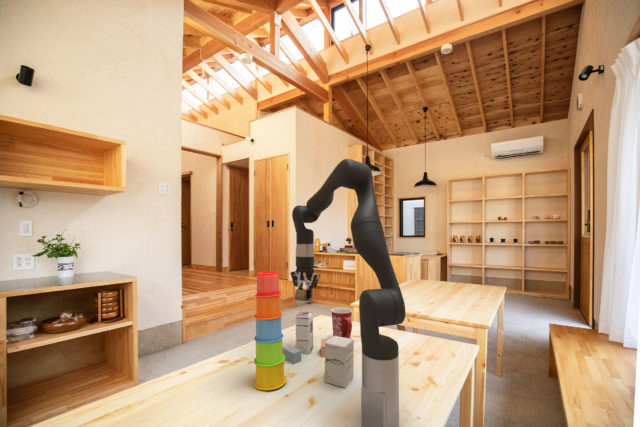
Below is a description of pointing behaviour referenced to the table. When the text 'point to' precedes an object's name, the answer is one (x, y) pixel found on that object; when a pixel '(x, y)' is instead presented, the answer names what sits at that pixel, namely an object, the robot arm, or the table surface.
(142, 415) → the table surface
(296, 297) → the walnut brick
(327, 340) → the terracotta brick
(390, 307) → the robot arm
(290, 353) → the slate-blue brick
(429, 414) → the table surface
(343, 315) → the mug
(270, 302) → the stacking cups
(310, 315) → the syrup box
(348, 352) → the supplement box
